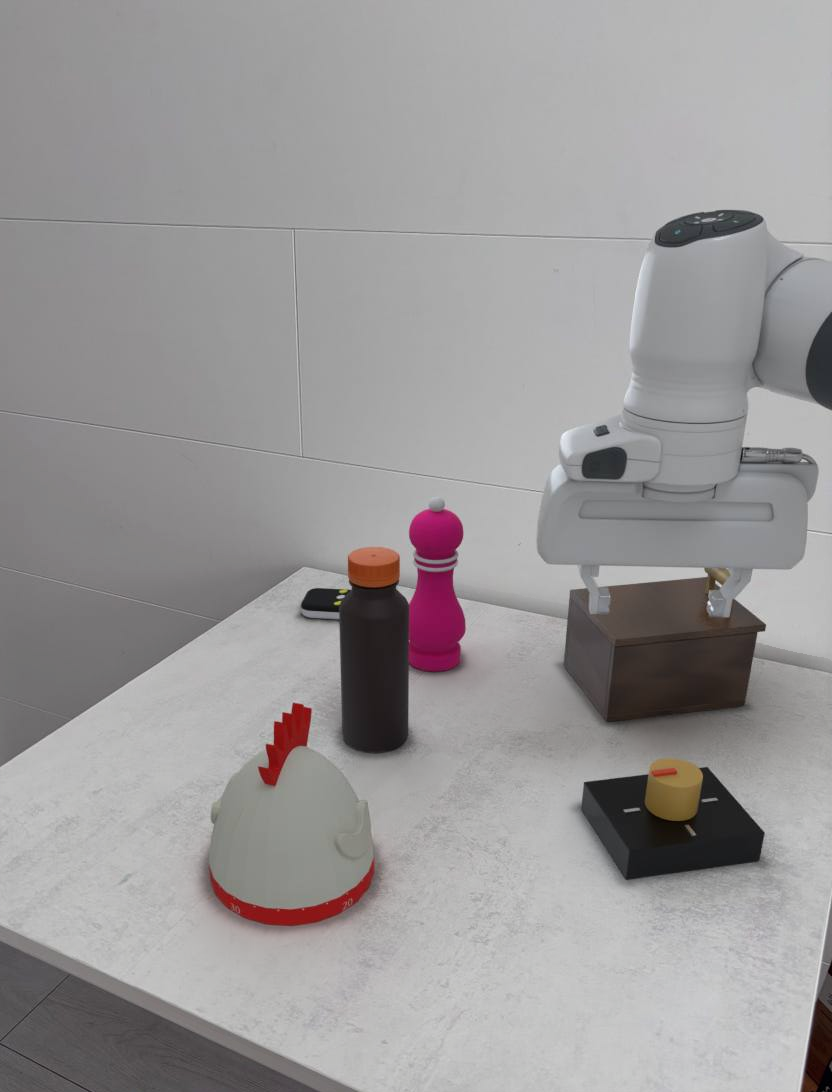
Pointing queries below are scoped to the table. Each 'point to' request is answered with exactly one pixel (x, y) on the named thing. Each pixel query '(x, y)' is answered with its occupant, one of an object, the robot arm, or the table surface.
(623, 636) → the chest lid
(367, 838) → the kitchen timer
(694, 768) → the lock dial
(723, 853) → the rotary knob base
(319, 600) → the remote control
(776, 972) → the table surface
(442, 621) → the pepper mill
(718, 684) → the chest
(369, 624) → the bottle
